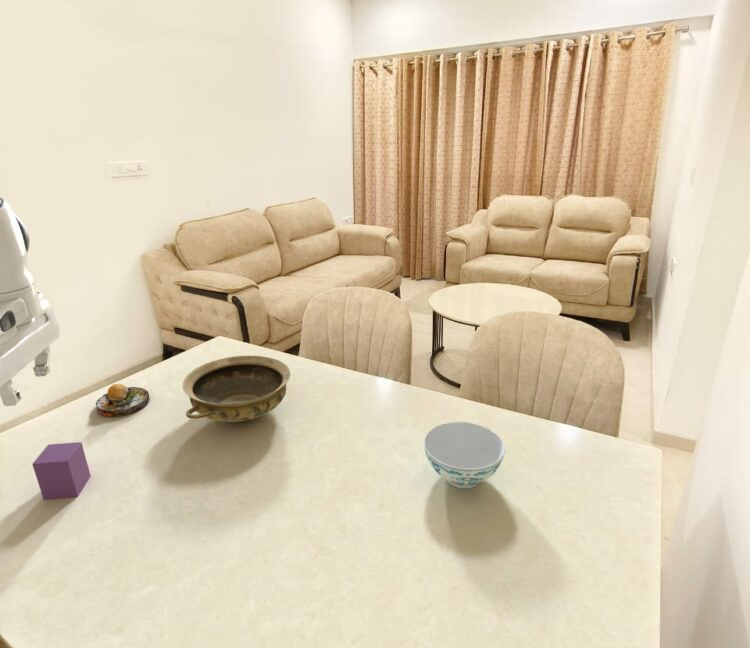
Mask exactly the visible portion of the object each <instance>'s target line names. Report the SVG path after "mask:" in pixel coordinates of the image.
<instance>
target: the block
mask: <svg viewBox="0 0 750 648" xmlns="http://www.w3.org/2000/svg"><path fill="white" fill-rule="evenodd" d="M31 465H32V468H33V471H34V473H35V477H36V480H37V483H38V486H39V490H40V493H41V496H42V499H43V501H45V500H56V499H66V498H67V499H68V498H78V496H79V495H80V494H81V492H82V491H83V489H84V487H85V486H86V484H87V483H88V481H89V479H90V478H91V477H92V475H91V472H90V468H89V464H88V461H87V457H86V453H85V450H84V446H83V443H82V441H74V442H63V443H49V444H47V445H46V447H45V448H44V449H43V450H42V451H41V452H40V454H39V455H38V456H37V458H36V459H35V460H34V461H33V463H32V464H31Z"/></svg>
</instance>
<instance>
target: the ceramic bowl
mask: <svg viewBox="0 0 750 648" xmlns="http://www.w3.org/2000/svg"><path fill="white" fill-rule="evenodd" d="M290 377H291V370H290V368H289V366H288V365H287V364H286V363H284V362H282V361H281V360H278V359H276V358H273V357H268V356H262V355H250V354H249V355H235V356H234V355H233V356H229V357H224V358H220V359H215V360H211V361H209V362H207V363H204V364H202V365H200V366H198V367H196V368H194V369H193V370H192V371H190V372H189V373H188V374H187V375H186V376H185V377H184V379H183V382H182V390H183V392H184V394H185V395H187V396H188V397H189V402H190V404H191V407H192V408H189V409H188V410H187V411H186V412H185V416H186V418H188V419H191V420H199V419H203V418H207V419H210V420H213V421H215V422H223V423H226V422H228V423H244V422H245V423H246V422H248V421H251V420H253V419H256V418H259V417H261V416H263V415H266V414H268V413H269V412H271V411H273V410H274V409H276V407H277V406H279V404H281V403H282V401H283V400H284V398H285V396H286V394H287V383H288V382H289V381H290ZM193 413H197V414H193Z"/></svg>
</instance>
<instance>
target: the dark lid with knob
mask: <svg viewBox="0 0 750 648" xmlns="http://www.w3.org/2000/svg"><path fill="white" fill-rule="evenodd" d="M149 402H150V393H149V391H148V390H147V389H146V388H143V387H138V386H130V387H129V386H128V387H127V385H126V384H122V383H114V384H113V383H111V386H110V387H108V390H107V392H106V393H104V394H103V395H102V396H101V397H99V398H98V399H97V400H96V401H95V409H96V412H97V413H99V414H100V415H101V416H104V417H106V416H108V417H112V418H113V417H120V416H126V415H129V414H132V413H136V412H137V411H139V410H141V409H144V407H145V406H146V405H148V404H149Z"/></svg>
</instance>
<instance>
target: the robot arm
mask: <svg viewBox="0 0 750 648" xmlns="http://www.w3.org/2000/svg"><path fill="white" fill-rule="evenodd" d="M29 248H30V235H29V230H28V229H27V226H26V225H25V223H24V222H23V221H22V219H20V217H19V216H17V214H16V213H14V212H13V210H12V208H11V206H10V205H9V203H8V202H7V201H6V200H5V199H4V198H2V197H0V398H1V401H2V404H3V405H4V407H14V406H16V405H17V404H19V402H20V401H21V400H22V397H21V393H20V390H18V389H17V390H15V389H14V388H13V387H12V385H13V380H12V379H13V378H14V377H15V376H16V375H17V374H18V373H20V372H21V371H22V370H23V369H24V368H25V367H26V366H28V365H29V364H30V363H31V362H32V361H33V360H34V365H33V366H32V370H33V372H34V376H35V377H38V378H39V377H46V376H47V375H49V373H50V372H51V367H50V354H51V350H50V346H51V345H52V344H53V343H55V342H56V341H57V340H58V339H59V337H60V327H59V323H58V320H57V318H56V314H55V311H54V309H53V307H52V305H51V303H50V302H49V301H48V300H47V299H45V297H44V294H43V293H42V292H41V291H40V290H38V288H37V285H36V282H35V278H34V277H33V275H32V274H31V271H30V269H29V267H28V263H27V260H28V252H29Z"/></svg>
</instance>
